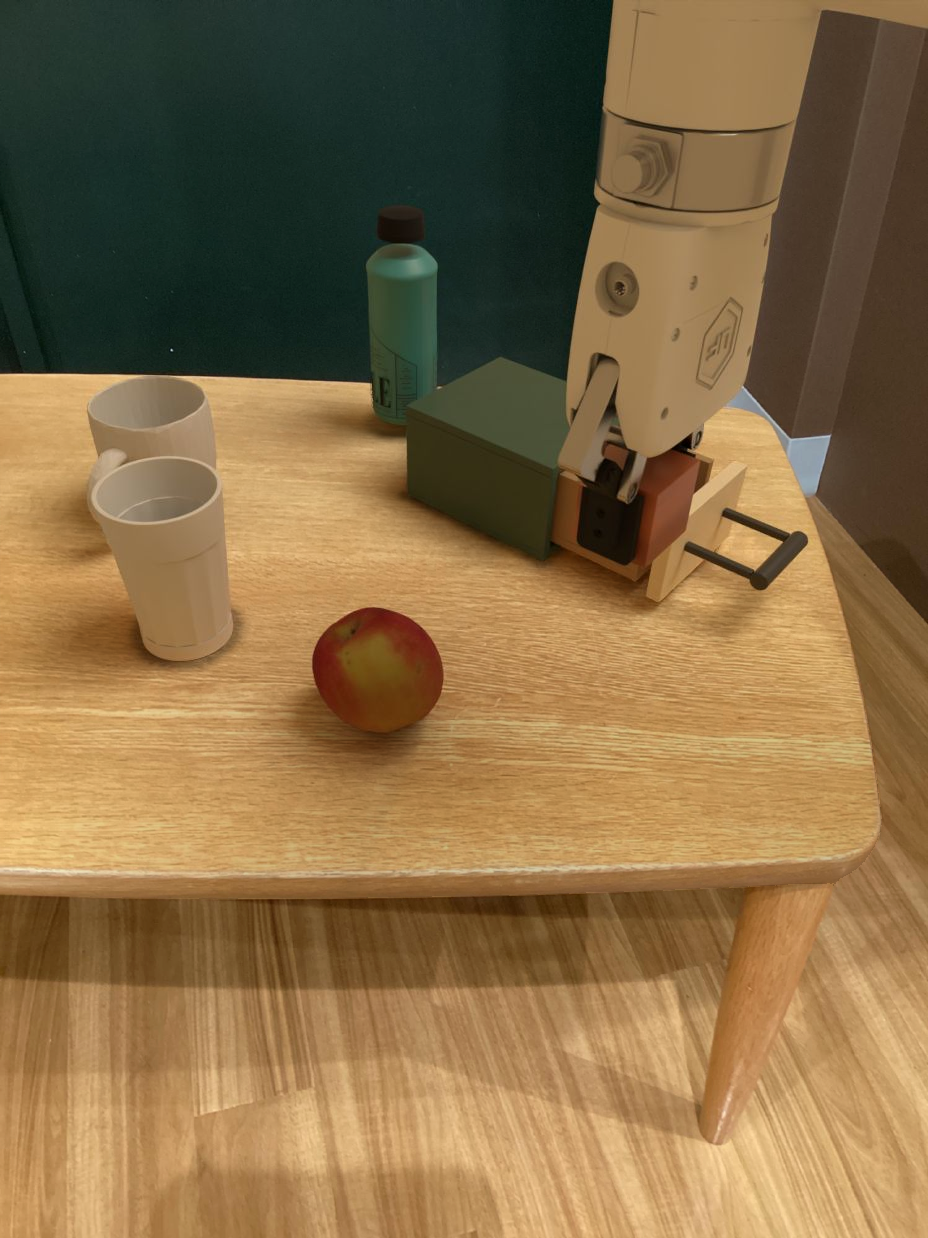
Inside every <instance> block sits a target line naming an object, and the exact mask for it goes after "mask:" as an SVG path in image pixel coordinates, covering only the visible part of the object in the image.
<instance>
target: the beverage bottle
mask: <svg viewBox="0 0 928 1238" xmlns="http://www.w3.org/2000/svg"><path fill="white" fill-rule="evenodd" d="M376 237H377V239H379V240H380V241H381V242H386V243H391V244H385V245H383V246H381V247H379V248H378V249H377V250H375V252H374V253H373V254H371V256H370V257H369V258H368V260H367V261H366V264H365V271H366V275H367V294H368V295H367V297H368V299H367V301H368V302H367V303H366V304H367V305H368V315H367V316H366V317H367V318H368V319H367V320H366V321H367V324H368V327H369V329H368V330H369V351H370V352H369V353H370V356H369V358H368V359H369V362H370V364H369V367H368V369H369V372H370V379H369V380H370V381H369V389H370V391H371V393H370V396H371V398H370V402H371V404H372V409H373V410H374V414H375V415H376V416H377V417H378V418H379V419H380V420H382V421H384V422H386V423H390V424H395V425H402V426H404V425H405V426H406V406H407V405H408V404H410V403H412V402H414V401H416V400H418V399H420V398H422V397H424V396H426V395H428V394H430V393H432V392H434V391H435V390H437V389H439V388H440V387H439V382H438V381H439V376H438V373H439V368H438V366H439V361H438V358H439V355H438V351H439V350H438V349H439V348H438V346H439V343H438V338H439V335H438V333H439V331H438V327H437V326H438V325H437V324H438V321H437V320H438V319H437V318H438V317H437V316H438V315H437V309H438V307H437V306H438V305H437V303H438V302H437V300H438V297H437V295H438V269H439V265H438V262H437V261H436V259H435V258H434V256H432V255H431V254H430V253H429V252H428V250H426V249H425V248H424V247H422V246H420V245H416V244H415V243H418V242H421V241H423V240H425V238H426V226H425V214H424V212H423V210H421V209H420V208H418V207H414V206H410V205H401V204H400V205H389V206H385V207H383V208H381V209H379V210H378V213H377V226H376Z"/></svg>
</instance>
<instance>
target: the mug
mask: <svg viewBox="0 0 928 1238" xmlns="http://www.w3.org/2000/svg"><path fill="white" fill-rule="evenodd" d="M86 405H87V407H86V413H87V419H88V424H89V429H90V432H91V435H92V439H93V443H94V447H95V450H96V454H97V457H98V458H97V459H96V460H95V462H94V463H93V466H92V468H91V470H90V473H89V476H88V480H87V483H86V490H85V491H86V493H85V494H86V503H87V508H88V511H89V512H90V514H91V517H92V518H93V520H95V522H96V523H98V524H99V525H100V522H99V520H98V517H97V515H96V512H95V510H94V507H93V504H92V501H91V494H92V490H93V488H94V486H95V485H96V483H97V482H98V481H99V480H100V479H101V478H102V477H103V476H105V475H106V474H107V473H109V472H110V471H112V470H114V469H116V468H118V467H120V466H122V465H124V464H127V463H130V462H133V461H137V460H141V459H145V458H151V457H160V456H178V457H186V458H192V459H195V460H199V461H201V462H204V463H206V464H208V465H210V466H211V467H213V468H214V469H215V470H216V471H217V446H216V435H215V428H214V423H213V416H212V409H211V405H210V402H209V398H208V395H207V392H206V391H205V390H204V389H203V388H202V387H201V386H200V385H198V384H197V383H195V382H192V381H190V380H188V379H186V378H181V377H175V376H171V375H143V376H141V375H140V376H136V377H132V378H128V379H123V380H119V381H117V382H115V383H112V384H110V385H107V386H105V387H103V388H102V389H100V390H98V392H96V393H95V394H94V395H93V396H92V397H91V398H90V399H89V401H88V403H87V404H86Z"/></svg>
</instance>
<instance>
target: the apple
mask: <svg viewBox="0 0 928 1238" xmlns="http://www.w3.org/2000/svg"><path fill="white" fill-rule="evenodd" d="M443 665H444V664H443V660H442V657H441V654H440V652H439V650H438V648H437V646H436V644H435V643H434V641H433V639H432V637H431V636H430V634H429V633H428V632H427V631H426V630H425V629H424V628H423V627H422V626H421V625H420V624H418V622H416V621H414V620H413V619H412V618H410V617H409V616H407V615H406V614H405V615H404V614H402V613H401V612H397V611H394V610H391V609H387V608H383V607H378V606H377V607H376V606H369V607H367V606H366V607H363V608H358V609H356V610H353V611H351V612H349V613H348V614H346V615H344V616H342V617H341V618H339V619H338V620H337V621H335V622H334V623H332V624H330V625H329V626H328V627H327V628H326V629H325V631H323V633H322V634H321V635H320V637H319V638H318V640H317V641H316V643H315V646H314V649H313V652H312V659H311V670H312V676H313V680H314V683H315V687H316V689H317V691H318V693H319V696H320V698H321V699H322V701H324V703H325V704H326V706H327V707H328V708H329V709H330V711H332V712H333V713H334V714H335V715H336V716H337V717H338V718H339V719H340V720H341V721H343V722H344V723H346V724H348V725H350V726H352V727H354V728H357V729H359V730H361V731H366V732H373V733H389V732H394V731H397V730H400V729H403V728H406V727H408V726H410V725H413V724H415V723H418V722H420V721H421V720H423V719H424V718H425V717H427V716H428V714H430V712H431V711H432V710H433V709H434V708H435V706H436V705H437V704H438V702H439V700H440V697H441V695H442V692H443V687H444V686H443V685H444V677H445V676H444V666H443Z"/></svg>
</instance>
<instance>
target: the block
mask: <svg viewBox="0 0 928 1238" xmlns="http://www.w3.org/2000/svg"><path fill="white" fill-rule="evenodd" d="M627 453H628V451H627V450H625V449H622V448H620V447H617V446H614V445H612V444H610V445H608V446H607V447H606V449H605V453H604V457H605V458H607V459H609V460H612V461H614V462H616V463H617V464H618V466H619V467H620V468H621V469H622V470H623V468H624V464H625V460H626V457H627ZM699 465H700V460H699V459H696V458H694V457H691V456H688V455H686V454H683V453H680V452H678V451H675V450H672V449H669V450H668V451H666V452H664V453H662V454H660V455H658V456H655V457H651V458H647V460H646V464H645V468H644V471H643V475H642V479H641V482H640V486H639V490H638V493H637V494H638V495H641V496H643V497H645V500H644V505H643V511H642V517H641V523H640V529H639V535H638V541H637V547H636V553H635V558H634V560H633V561H631V563H633V564H635V565H637V566H640V567H642V568H646V567H647V566H648V565H649V564H650V563H651V562H652V561H654V560H655V559H656V558H657V557H658V556H659V555H660V554H661V553H662V552H663V551H664V550H665V549H667V548H668V547H669V546H670V545H671V544H672V543H673V542H674V541H675V540H676V539H677V538H678V537H680V536H681V535H682V534H683V533H684V532H685V531H686V527H687V522H688V517H689V513H690V508H691V503H692V498H693V493H694V489H695V484H696V479H697V474H698V470H699ZM582 487H583V486H582V485H580V484H579V488H578V497H577V505H576V514H575V523H574V532H573V537H575V538H577V529H578V521H579V512H580V504H581V495H582Z"/></svg>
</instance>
